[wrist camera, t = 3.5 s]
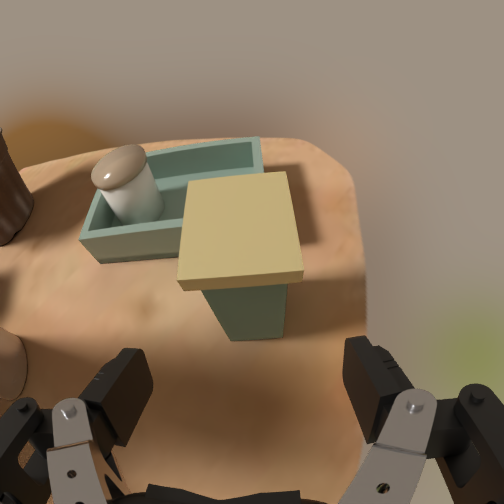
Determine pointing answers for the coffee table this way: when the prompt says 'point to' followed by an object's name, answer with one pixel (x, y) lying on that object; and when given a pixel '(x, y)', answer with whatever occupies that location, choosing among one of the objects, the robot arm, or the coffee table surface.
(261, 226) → the tea tin
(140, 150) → the ceramic jar
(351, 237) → the coffee table surface
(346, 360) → the robot arm
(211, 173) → the crate
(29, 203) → the plant pot
